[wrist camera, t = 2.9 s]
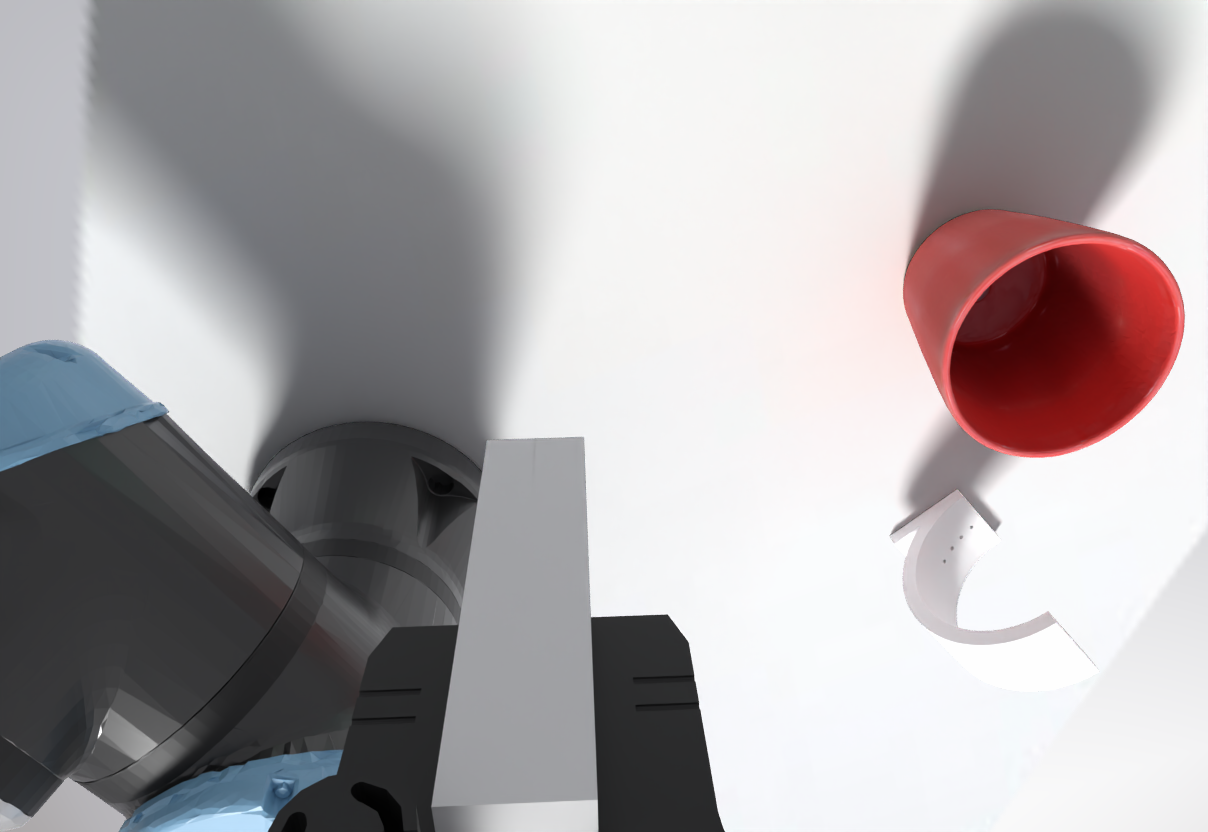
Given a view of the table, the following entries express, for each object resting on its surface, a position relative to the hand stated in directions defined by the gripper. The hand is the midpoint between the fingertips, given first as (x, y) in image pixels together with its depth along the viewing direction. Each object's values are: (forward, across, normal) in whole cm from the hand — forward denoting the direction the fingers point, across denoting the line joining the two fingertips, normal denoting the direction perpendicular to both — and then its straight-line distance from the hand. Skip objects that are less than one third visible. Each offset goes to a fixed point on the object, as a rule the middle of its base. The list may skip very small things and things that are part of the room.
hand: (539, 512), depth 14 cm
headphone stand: (+33, +23, -26) cm, 47 cm away
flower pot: (+33, +22, -9) cm, 40 cm away
